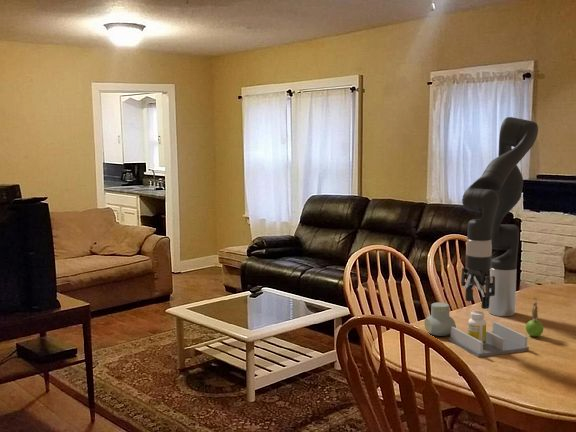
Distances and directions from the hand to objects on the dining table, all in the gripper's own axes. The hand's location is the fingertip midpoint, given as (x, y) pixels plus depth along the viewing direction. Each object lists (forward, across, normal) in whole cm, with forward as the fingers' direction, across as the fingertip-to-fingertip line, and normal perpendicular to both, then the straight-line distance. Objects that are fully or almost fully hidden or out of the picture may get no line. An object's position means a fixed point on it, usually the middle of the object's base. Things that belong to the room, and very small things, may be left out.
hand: (476, 304), depth 188 cm
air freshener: (+14, +14, +4) cm, 20 cm away
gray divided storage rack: (+14, 0, -4) cm, 14 cm away
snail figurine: (+14, +3, -24) cm, 28 cm away
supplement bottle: (+13, 0, 0) cm, 13 cm away
